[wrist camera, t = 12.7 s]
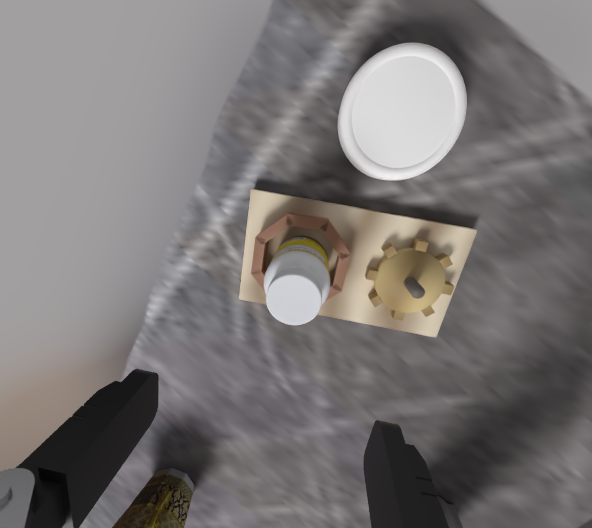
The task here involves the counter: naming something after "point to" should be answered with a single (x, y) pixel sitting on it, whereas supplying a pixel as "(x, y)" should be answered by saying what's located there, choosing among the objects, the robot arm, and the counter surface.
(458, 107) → the coaster
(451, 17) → the counter surface
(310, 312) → the supplement bottle
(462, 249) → the gear board
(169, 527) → the ceramic cup
